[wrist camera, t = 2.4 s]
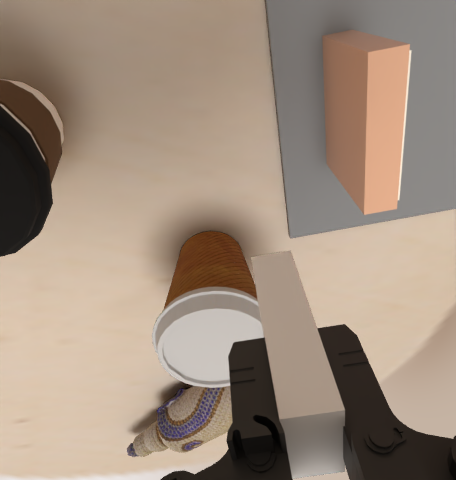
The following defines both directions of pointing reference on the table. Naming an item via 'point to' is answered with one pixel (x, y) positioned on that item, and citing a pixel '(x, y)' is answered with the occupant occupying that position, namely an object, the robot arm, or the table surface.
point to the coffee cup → (26, 162)
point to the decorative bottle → (186, 421)
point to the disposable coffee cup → (207, 311)
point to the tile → (366, 115)
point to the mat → (313, 106)
